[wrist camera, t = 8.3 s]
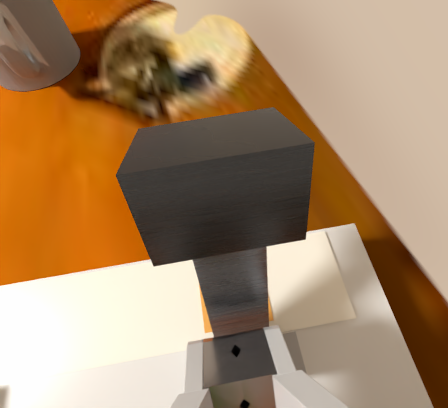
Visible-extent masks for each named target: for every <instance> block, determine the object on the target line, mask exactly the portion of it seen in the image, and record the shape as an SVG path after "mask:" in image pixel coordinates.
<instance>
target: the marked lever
mask: <svg viewBox="0 0 448 408" xmlns="http://www.w3.org/2000/svg"><path fill="white" fill-rule="evenodd" d="M314 143H315V142H313V141H312V140H311V139H310V138H309V137H308V136H306V135H305V134H304V133H303V132H302V131H301V130H299V129H298V128H297V127H296V126H295V125H294V124H292V123H291V122H290V121H289V120H288V119H287V118H285V117H284V116H283V115H282V114H281V113H280V112H278V111H277V110H276V109H275V108H274V107H273V108H266V109H260V110H254V111H248V112H241V113H235V114H229V115H222V116H216V117H210V118H204V119H197V120H191V121H185V122H178V123H172V124H166V125H159V126H153V127H147V128H141V129H138V131H137V133H136V135H135V137H134V139H133V141H132V143H131V145H130V147H129V149H128V151H127V153H126V155H125V157H124V159H123V161H122V163H121V165H120V168H119V170H118V172H117V174H116V177H117V179H118V182H119V184H120V187H121V189H122V192H123V194H124V196H125V199H126V201H127V204H128V206H129V208H130V211H131V213H132V216H133V218H134V220H135V223H136V225H137V228H138V230H139V233H140V235H141V237H142V240H143V242H144V245H145V247H146V249H147V252H148V254H149V257H150V259H151V261H152V264H153V266H160V265H165V264H171V263H177V262H182V261H188V260H193V263H194V267H195V270H196V274H197V278H198V281H199V285H200V288H201V292H202V296H203V299H204V303H205V306H206V310H207V314H208V317H209V321H210V324H211V328H212V332H213V335H214V337H219V336H225V335H231V334H235V333H240V332H245V331H249V330H254V329H259V328H264V327H269V308H268V277H267V246H272V245H278V244H284V243H289V242H295V241H301V240H306V232H307V221H308V210H309V199H310V188H311V176H312V165H313V154H314Z"/></svg>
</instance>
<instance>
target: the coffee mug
mask: <svg viewBox="0 0 448 408" xmlns="http://www.w3.org/2000/svg"><path fill="white" fill-rule="evenodd" d="M79 60H80V49H79V47H78V45H77V43H76V42H75V40H74V38H73V36H72V35H71V33H70V31H69V29H68V27H67V26H66V24H65V22H64V20H63V19H62V17H61V15H60V13H59V11H58V10H57V8H56V6H55V4H54V3H53V1H52V0H0V85H1V86H3V87H4V88H7V89H9V90H13V91H32V90H38V89H41V88H45V87H48V86H50V85H52V84H54V83H56V82H58V81H60V80H62V79H63V78H65V77H66V76H67V75H69V74H70V73H71V72H72V71H73V70H74V68H75V67H76V66H77V64H78V62H79Z"/></svg>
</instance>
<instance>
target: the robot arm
mask: <svg viewBox="0 0 448 408" xmlns="http://www.w3.org/2000/svg"><path fill="white" fill-rule="evenodd" d="M170 408H349V407H348V406H346V405H345V404H344V403H343V402H341V401H340V400H339V399H338V398H336V397H335V396H334V395H333V394H331V393H330V392H329V391H328V390H326V389H325V388H324V387H323V386H321V385H320V384H319V383H318V382H316V381H315V380H314V379H313V378H311V377H310V376H309V375H308V374H307V373H305V372H304V371H303V370H296V367H295V365H294V362H293V359H292V357H291V354H290V352H289V349H288V347H287V344H286V342H285V339H284V337H283V334H282V332H281V329H280V327H279V326H278V325H274V326H269V327H264V328H259V329H254V330H249V331H245V332H240V333H235V334H231V335H225V336H219V337H213V338H206V339H202V340H196V341H190V342H188V343H187V346H186V361H185V377H184V393H182V394H178V396H177V397H176V399H175V401H174V402H173V404H172V405H171V407H170Z"/></svg>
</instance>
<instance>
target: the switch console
mask: <svg viewBox="0 0 448 408" xmlns="http://www.w3.org/2000/svg"><path fill="white" fill-rule="evenodd" d="M267 277H268V308H269V326H274V325H278V326H279V327H280V329H281V332H282V334H283V337H284V339H285V342H286V344H287V347H288V349H289V352H290V354H291V357H292V359H293V362H294V365H295V367H296V370H303V371H304V372H305V373H307V374H308V375H309V376H310V377H311V378H313V379H314V380H315V381H316V382H318V383H319V384H320V385H321V386H323V387H324V388H325V389H326V390H328V391H329V392H330V393H331V394H333V395H334V396H335V397H336V398H338V399H339V400H340V401H341V402H343V403H344V404H345V405H346V406H348V407H349V408H433V405H432V403H431V401H430V398H429V396H428V394H427V391H426V389H425V387H424V384H423V382H422V380H421V377H420V375H419V373H418V370H417V368H416V366H415V363H414V361H413V359H412V356H411V354H410V352H409V350H408V347H407V345H406V343H405V340H404V338H403V336H402V333H401V331H400V329H399V326H398V324H397V322H396V319H395V317H394V315H393V312H392V310H391V308H390V305H389V303H388V301H387V298H386V296H385V294H384V291H383V289H382V287H381V284H380V282H379V280H378V277H377V275H376V273H375V271H374V268H373V266H372V264H371V261H370V259H369V257H368V254H367V252H366V250H365V247H364V245H363V243H362V240H361V238H360V236H359V233H358V231H357V229H356V226H355V224H349V225H343V226H338V227H332V228H326V229H321V230H315V231H309V232H306V240H301V241H295V242H289V243H284V244H278V245H272V246H267ZM213 337H214V335H213V332H212V328H211V324H210V321H209V317H208V314H207V310H206V306H205V303H204V299H203V296H202V292H201V288H200V285H199V281H198V278H197V274H196V270H195V267H194V263H193V260H188V261H182V262H177V263H171V264H165V265H160V266H153V264H152V261H151V260H145V261H139V262H134V263H128V264H122V265H117V266H111V267H105V268H100V269H94V270H88V271H83V272H77V273H71V274H66V275H60V276H54V277H49V278H43V279H37V280H32V281H26V282H20V283H15V284H9V285H3V286H0V408H170V407H171V405H172V404H173V402H174V401H175V399H176V397H177V396H178V394H182V393H184V377H185V361H186V346H187V343H188V342H190V341H196V340H202V339H206V338H213Z"/></svg>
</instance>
